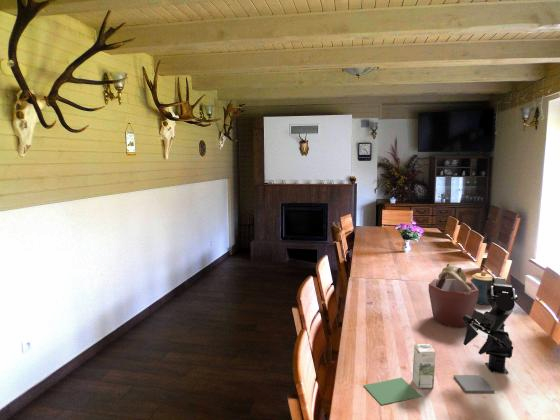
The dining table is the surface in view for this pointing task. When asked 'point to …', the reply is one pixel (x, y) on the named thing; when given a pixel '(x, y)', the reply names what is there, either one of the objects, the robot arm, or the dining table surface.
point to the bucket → (452, 299)
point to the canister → (481, 286)
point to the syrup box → (423, 366)
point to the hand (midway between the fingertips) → (471, 349)
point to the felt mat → (392, 391)
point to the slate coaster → (473, 384)
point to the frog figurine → (454, 269)
